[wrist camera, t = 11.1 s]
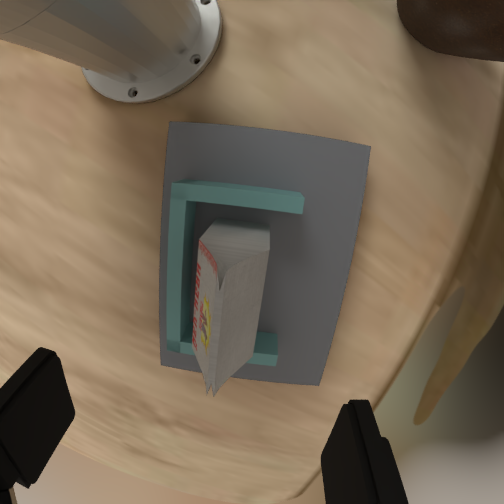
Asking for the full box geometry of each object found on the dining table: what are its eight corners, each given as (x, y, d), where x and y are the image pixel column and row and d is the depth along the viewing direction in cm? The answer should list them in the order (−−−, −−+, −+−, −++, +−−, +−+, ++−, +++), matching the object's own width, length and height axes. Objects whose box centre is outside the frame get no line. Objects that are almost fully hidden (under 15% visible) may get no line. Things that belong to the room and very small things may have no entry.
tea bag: (269, 225, 22) (269, 278, 13) (256, 311, 24) (248, 402, 15) (217, 217, 22) (178, 264, 13) (208, 304, 24) (175, 389, 15)
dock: (180, 125, 23) (154, 116, 18) (359, 147, 23) (385, 145, 17) (169, 347, 29) (150, 386, 24) (315, 366, 29) (323, 408, 23)
